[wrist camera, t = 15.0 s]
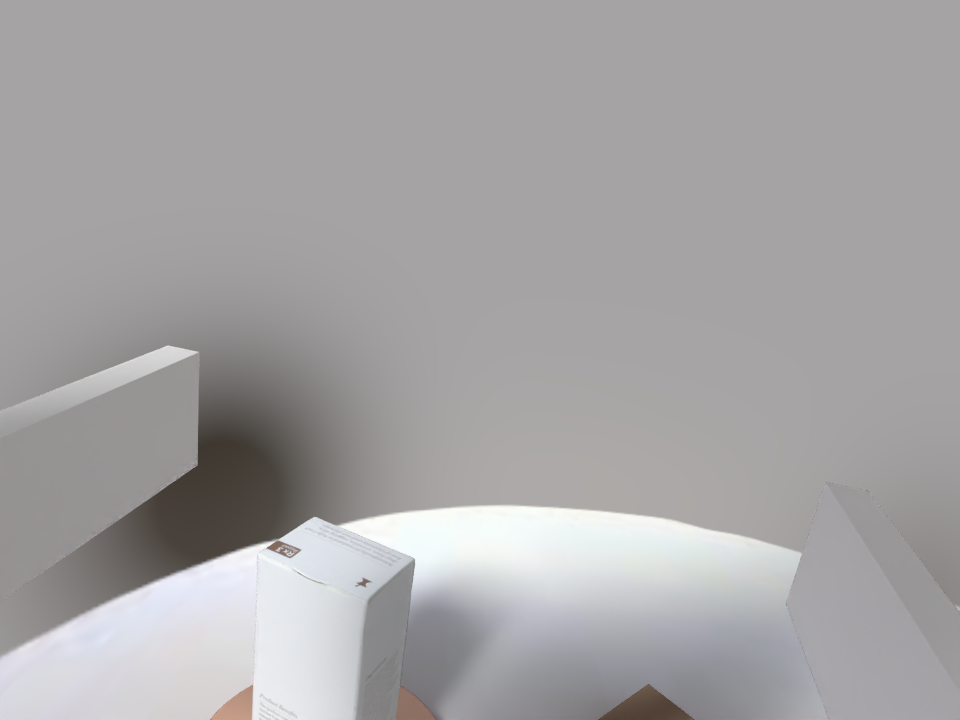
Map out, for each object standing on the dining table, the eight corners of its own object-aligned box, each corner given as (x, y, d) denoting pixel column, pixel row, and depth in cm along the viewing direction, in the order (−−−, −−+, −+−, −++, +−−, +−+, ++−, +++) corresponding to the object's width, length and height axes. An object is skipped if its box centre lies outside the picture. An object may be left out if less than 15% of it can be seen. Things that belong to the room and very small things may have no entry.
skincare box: (394, 757, 35) (426, 554, 32) (342, 827, 31) (372, 604, 28) (299, 703, 37) (319, 509, 34) (239, 762, 33) (255, 549, 30)
